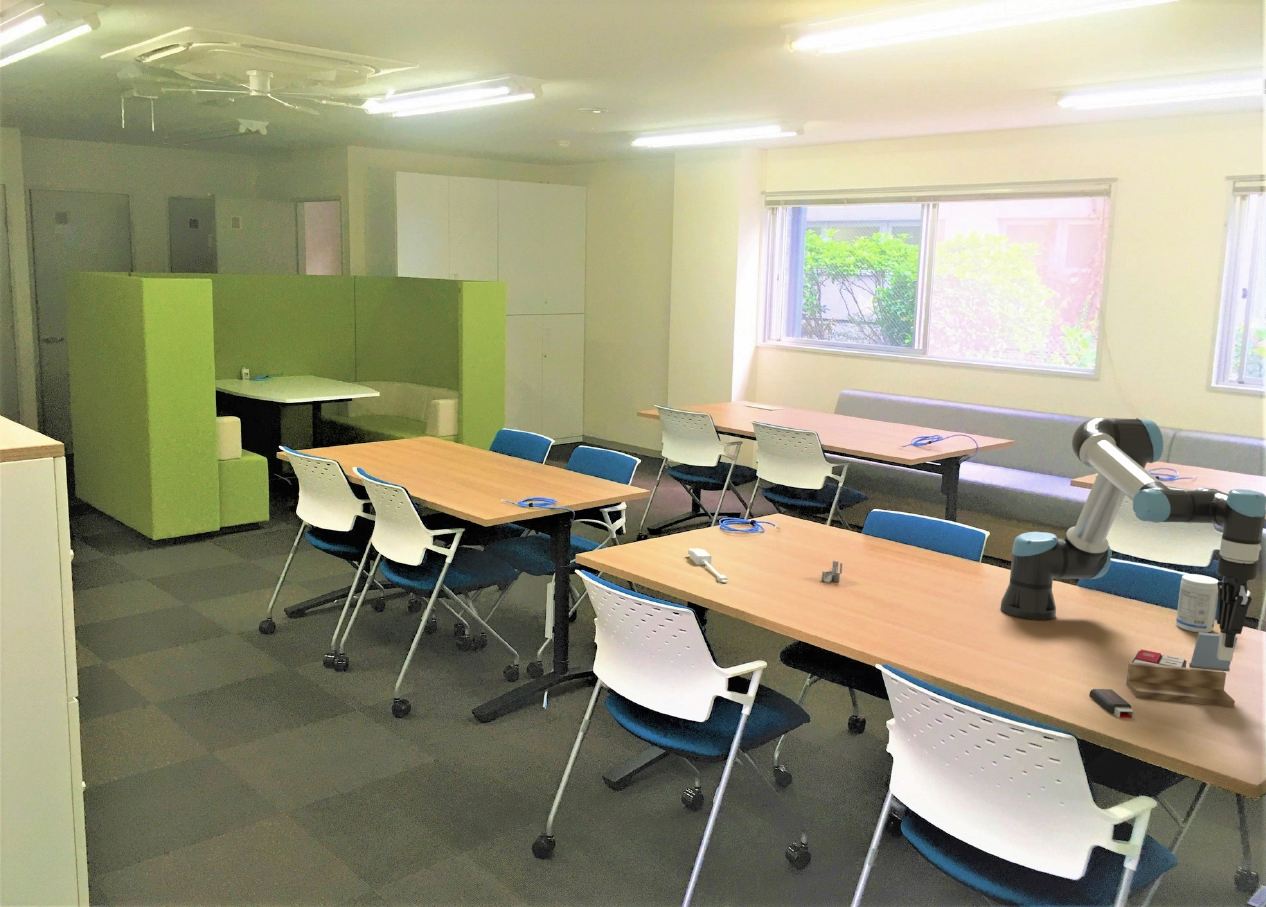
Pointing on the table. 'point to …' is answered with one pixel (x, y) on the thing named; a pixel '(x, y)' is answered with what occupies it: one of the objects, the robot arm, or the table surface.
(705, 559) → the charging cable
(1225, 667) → the light blue flat tile
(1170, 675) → the wooden l-shaped bracket
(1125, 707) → the usb drive
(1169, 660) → the calculator
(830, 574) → the architectural model
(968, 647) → the table surface
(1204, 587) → the supplement tub
